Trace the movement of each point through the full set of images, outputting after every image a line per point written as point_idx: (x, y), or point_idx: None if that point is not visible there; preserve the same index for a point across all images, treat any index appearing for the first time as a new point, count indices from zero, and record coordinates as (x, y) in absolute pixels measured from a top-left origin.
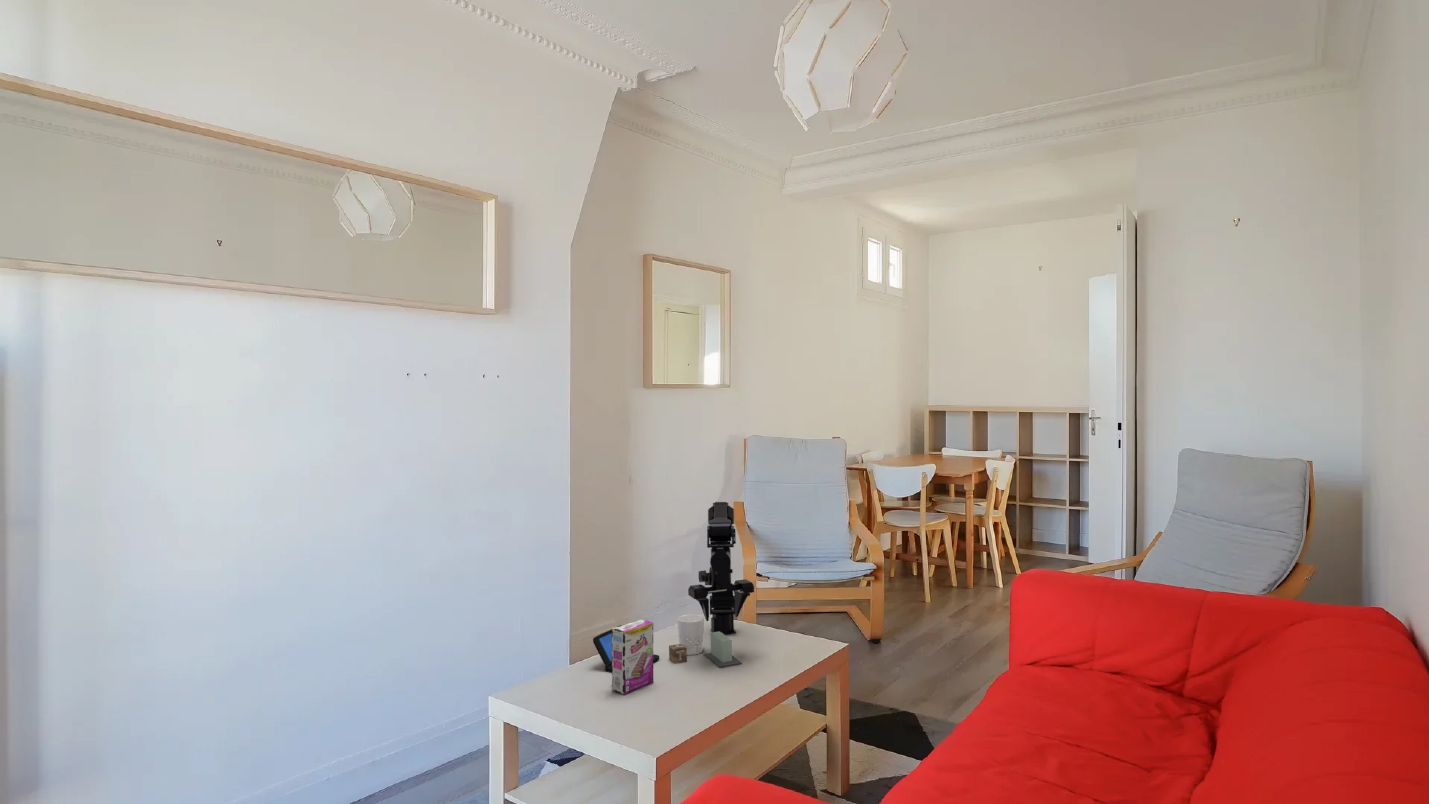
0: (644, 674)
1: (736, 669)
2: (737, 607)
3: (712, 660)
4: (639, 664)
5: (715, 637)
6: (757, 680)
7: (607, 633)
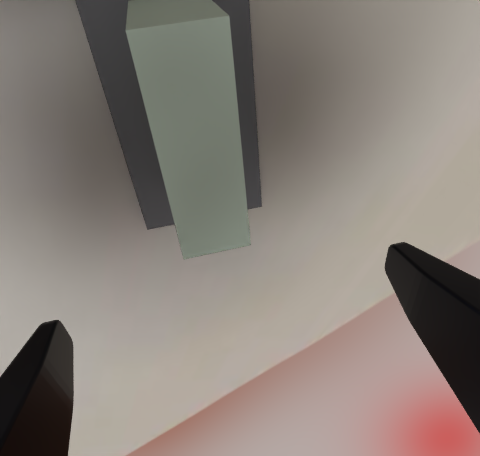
0: None
1: None
2: (451, 361)
3: (122, 149)
4: None
5: (156, 151)
6: (252, 330)
7: None
